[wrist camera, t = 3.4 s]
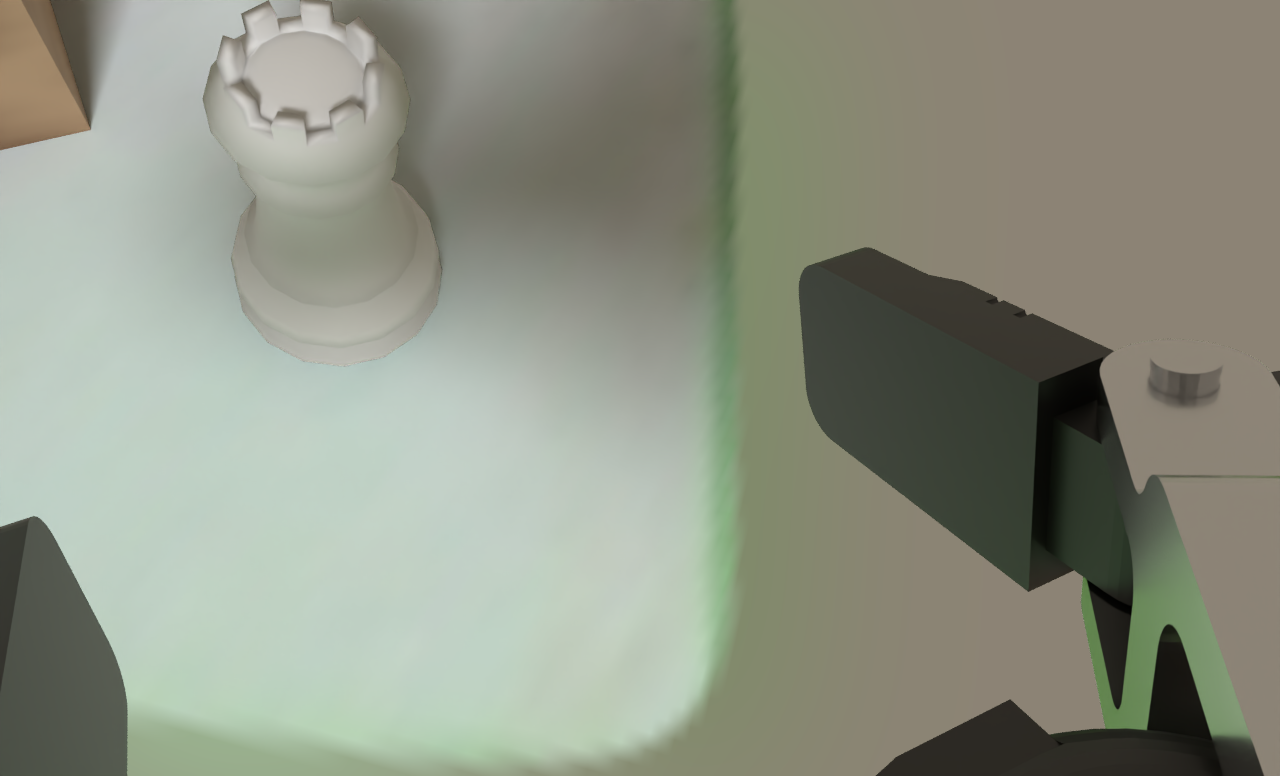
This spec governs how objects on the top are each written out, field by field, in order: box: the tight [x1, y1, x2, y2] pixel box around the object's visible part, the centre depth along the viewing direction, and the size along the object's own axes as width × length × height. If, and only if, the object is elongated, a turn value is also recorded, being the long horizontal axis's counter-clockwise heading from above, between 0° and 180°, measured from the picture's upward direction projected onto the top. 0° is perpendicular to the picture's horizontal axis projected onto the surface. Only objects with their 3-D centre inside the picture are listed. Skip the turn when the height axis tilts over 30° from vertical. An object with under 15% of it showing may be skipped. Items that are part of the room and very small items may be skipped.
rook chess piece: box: [203, 0, 442, 366], centre depth 20 cm, size 4×4×8 cm
